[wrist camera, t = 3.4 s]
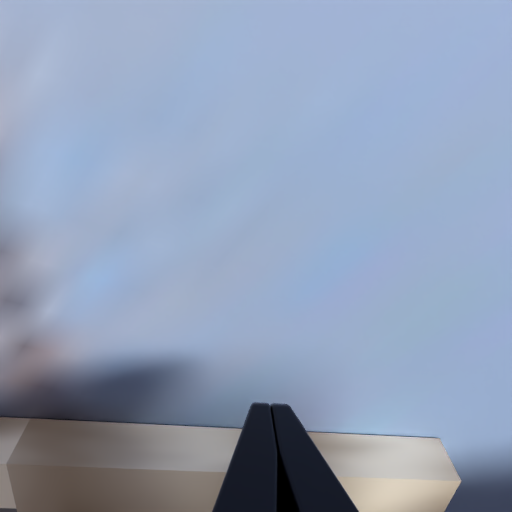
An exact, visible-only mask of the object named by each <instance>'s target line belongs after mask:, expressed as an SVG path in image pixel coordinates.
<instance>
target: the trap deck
mask: <svg viewBox="0 0 512 512" xmlns="http://www.w3.org/2000/svg"><path fill="white" fill-rule="evenodd" d="M241 431H242V429H237V428H216V427H196V426H175V425H155V424H134V423H114V422H93V421H73V420H52V419H32V418H11V417H0V512H212V510H213V507H214V505H215V502H216V499H217V496H218V494H219V491H220V488H221V486H222V483H223V480H224V477H225V475H226V472H227V469H228V466H229V464H230V461H231V458H232V456H233V453H234V450H235V447H236V445H237V442H238V439H239V436H240V434H241ZM307 433H308V434H309V436H310V437H311V439H312V441H313V442H314V444H315V445H316V447H317V448H318V450H319V451H320V453H321V454H322V456H323V457H324V459H325V460H326V462H327V463H328V465H329V466H330V468H331V469H332V471H333V473H334V474H335V476H336V477H337V479H338V480H339V482H340V483H341V485H342V486H343V488H344V489H345V491H346V492H347V494H348V495H349V497H350V498H351V500H352V501H353V503H354V504H355V506H356V508H357V509H358V511H359V512H444V511H445V509H446V507H447V506H448V504H449V502H450V500H451V499H452V497H453V495H454V493H455V492H456V490H457V488H458V486H459V485H460V483H461V479H460V477H459V476H458V474H457V472H456V470H455V468H454V466H453V464H452V462H451V460H450V458H449V456H448V454H447V452H446V450H445V448H444V446H443V444H442V442H441V440H440V438H421V437H401V436H380V435H360V434H339V433H319V432H307Z"/></svg>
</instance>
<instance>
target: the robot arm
mask: <svg viewBox="0 0 512 512" xmlns="http://www.w3.org/2000/svg"><path fill="white" fill-rule="evenodd" d="M212 512H359V511H358V509H357V508H356V506H355V504H354V503H353V501H352V500H351V498H350V497H349V495H348V494H347V492H346V491H345V489H344V488H343V486H342V485H341V483H340V482H339V480H338V479H337V477H336V476H335V474H334V473H333V471H332V469H331V468H330V466H329V465H328V463H327V462H326V460H325V459H324V457H323V456H322V454H321V453H320V451H319V450H318V448H317V447H316V445H315V444H314V442H313V441H312V439H311V437H310V436H309V434H308V433H307V431H306V430H305V428H304V427H303V425H302V424H301V422H300V421H299V419H298V418H297V416H296V415H295V413H294V412H293V410H292V409H291V407H290V406H289V405H287V404H275V403H274V404H271V405H269V404H268V403H257V402H254V403H252V404H251V406H250V409H249V412H248V415H247V417H246V420H245V423H244V426H243V428H242V431H241V434H240V436H239V439H238V442H237V445H236V447H235V450H234V453H233V456H232V458H231V461H230V464H229V466H228V469H227V472H226V475H225V477H224V480H223V483H222V486H221V488H220V491H219V494H218V496H217V499H216V502H215V505H214V507H213V510H212Z"/></svg>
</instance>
